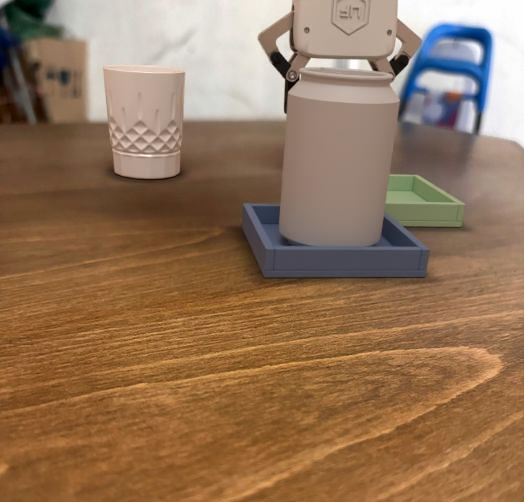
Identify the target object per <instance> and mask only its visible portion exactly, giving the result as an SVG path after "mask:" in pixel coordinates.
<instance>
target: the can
mask: <svg viewBox="0 0 524 502" xmlns="http://www.w3.org/2000/svg"><path fill="white" fill-rule="evenodd" d="M299 72H300V73H301V74H300V80H299V81H298V82H297V83H296V84H295V85H294V86H293V87H292V88H291V89H290V90H289V92H288V101H287V114H285V115H286V116H285V117H286V118H285V131H284V145H283V160H282V174H281V190H280V203H279V204H280V217H279V232H280V233H281V234H282V235H283V236H284V237H285V238H286V239H287V240H288V242H289V244H290V245H291V246H357V247H371V246H372V245H374V244H375V243H377V242H378V241H379V239H380V238H381V232H382V225H383V217H384V210H385V203H386V196H387V189H388V182H389V175H390V174H391V168H392V161H393V152H394V146H395V139H396V131H397V125H398V117H399V111H400V103H401V99H400V98H399V96H398V95H397V93H396V91H395V90H394V89H393V87H392V86H391V83H390V82H391V80H392V79H393V78H394V76H393V75H392V74H389V73H384V72H377V71H372V70H368V69H360V68H359V69H358V68H344V67H328V66H327V67H326V66H325V67H324V66H309V67H308V66H305V68H300V69H299Z"/></svg>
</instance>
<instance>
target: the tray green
mask: <svg viewBox="0 0 524 502" xmlns="http://www.w3.org/2000/svg"><path fill="white" fill-rule="evenodd" d="M465 209H466V203H464V202H463V201H461V200H459V199H458V198H456V197H455V196H453V195H451V194H449V193H448V192H446V191H445V190H443V189H442V188H440V187H439V186H437V185H435V184H434V183H432V182H430V181H428V180H427V179H425V178H424V177H422V176H420V175H418V174H396V173H394V174H393V173H390V175H389V182H388V189H387V196H386V203H385V210H384V211H385V212H387V213H388V214H389V215H390V216H391V217H392V218H394V219H395V220H396V221H397V222H398V223H399V224H401V225H402V226H403V227H415V228H416V227H417V228H418V227H420V228H421V227H423V228H424V227H425V228H426V227H427V228H462V226H463V220H464V216H465Z"/></svg>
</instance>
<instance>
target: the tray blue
mask: <svg viewBox="0 0 524 502" xmlns="http://www.w3.org/2000/svg"><path fill="white" fill-rule="evenodd" d="M241 214H242V215H241V229H242V231H243V233H244V235H245V238H246V240H247V242H248V244H249V247H250V249H251V252H252V254H253V256H254V258H255V260H256V262H257V265H258V267H259V269H260V271H261V274H262V276H263V278H266V279H267V278H270V279H271V278H285V279H287V278H289V279H290V278H293V279H294V278H301V279H302V278H426V275H427V269H428V264H429V258H430V253H431V249H430V248H429V247H428V246H427V245H426V244H424V243H423V242H422V241H421V240H420V239H418V238H417V237H416V236H415V235H414V234H413V233H411V232H410V231H409V230H408V229H406V228H405V226H402V225H401V224H399V223H398V222H397V221H396V220H395V219H394V218H392V217H391V216H390V215H389V214H388V213H387V212H385V211H384V217H383V225H382V232H381V238H380V239H379V241H378V242H377V243H375V244H374V245H372V246H371V247H357V246H291V245H290V244H289V242H288V240H287V239H286V238H285V237H284V236H283V235H282V234H281V233H280V232H279V217H280V203H249V202H248V203H246V202H244V203H242V213H241Z"/></svg>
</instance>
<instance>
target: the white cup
mask: <svg viewBox="0 0 524 502" xmlns="http://www.w3.org/2000/svg"><path fill="white" fill-rule="evenodd" d="M102 71H103V82H104V94H105V104H106V114H107V116H106V117H107V126H108V132H109V143H110V146H111V147H112V148H111V151H112V164H113V171H114V174H116V175H119V176H121V177H126V178H130V179H141V180H159V179H167V178H168V179H169V178H172V177H175V176H177V175H178V174H180V171H181V150H180V149H181V148H182V144H183V129H184V118H185V117H184V114H185V93H186V92H185V89H186V70H185V69H183V68H180V67H179V68H178V67H172V66H163V65H150V64H149V65H148V64H147V65H146V64H107V65H103V67H102Z"/></svg>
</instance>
